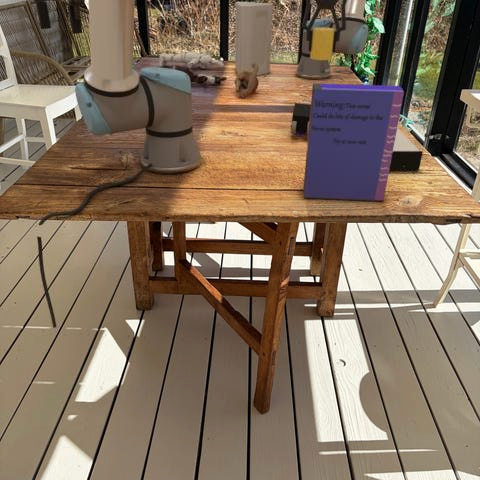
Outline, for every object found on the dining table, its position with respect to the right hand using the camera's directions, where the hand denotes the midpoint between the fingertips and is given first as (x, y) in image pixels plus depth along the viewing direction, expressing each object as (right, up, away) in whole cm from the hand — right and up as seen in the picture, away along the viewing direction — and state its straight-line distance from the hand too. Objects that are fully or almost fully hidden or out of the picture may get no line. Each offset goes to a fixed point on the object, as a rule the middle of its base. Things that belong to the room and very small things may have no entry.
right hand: (321, 50), depth 172 cm
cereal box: (-6, -58, -64) cm, 86 cm away
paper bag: (-23, +8, +46) cm, 52 cm away
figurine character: (-11, -36, -27) cm, 46 cm away
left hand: (-77, -12, -44) cm, 90 cm away
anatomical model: (-27, -12, +12) cm, 32 cm away
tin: (0, -2, +1) cm, 3 cm away
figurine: (-50, -5, +24) cm, 56 cm away
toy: (-52, +12, +52) cm, 74 cm away
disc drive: (+7, -45, -42) cm, 62 cm away
